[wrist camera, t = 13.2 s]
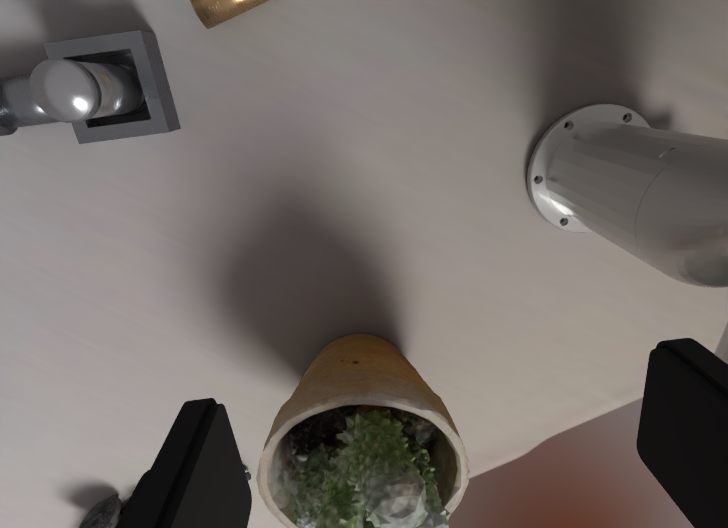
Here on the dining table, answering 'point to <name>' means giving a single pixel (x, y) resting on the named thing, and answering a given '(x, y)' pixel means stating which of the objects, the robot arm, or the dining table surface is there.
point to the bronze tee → (221, 9)
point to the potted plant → (363, 445)
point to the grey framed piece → (18, 109)
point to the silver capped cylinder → (85, 89)
